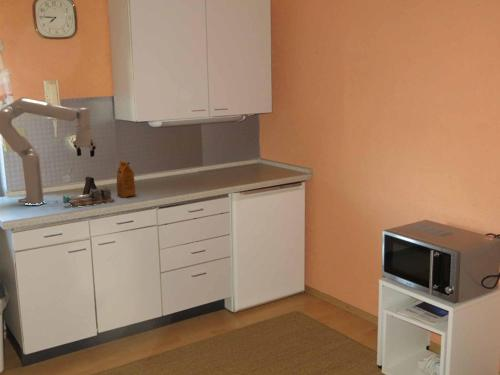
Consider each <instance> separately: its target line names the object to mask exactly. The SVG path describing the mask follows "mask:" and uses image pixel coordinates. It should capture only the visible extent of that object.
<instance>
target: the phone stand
mask: <svg viewBox="0 0 500 375" xmlns="http://www.w3.org/2000/svg"><path fill="white" fill-rule="evenodd" d="M84 179H85V180H84V181H85V183H84V187H83V191H82V195H86V194H91V189H98V188H97V185H96V183H95V178H94V177H91V176H85V178H84Z"/></svg>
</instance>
